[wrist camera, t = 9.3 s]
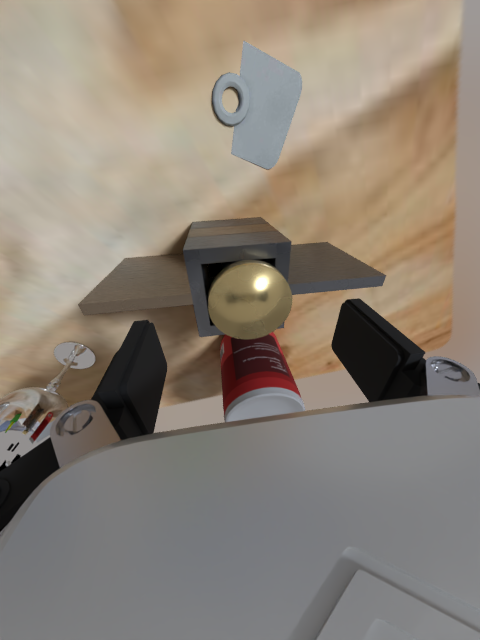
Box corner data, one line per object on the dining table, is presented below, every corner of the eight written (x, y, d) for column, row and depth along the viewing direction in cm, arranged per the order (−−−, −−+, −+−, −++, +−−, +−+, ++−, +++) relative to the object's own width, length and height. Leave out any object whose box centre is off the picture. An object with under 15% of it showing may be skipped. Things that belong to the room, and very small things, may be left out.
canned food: (240, 372, 32) (252, 451, 23) (207, 339, 28) (205, 419, 18) (285, 347, 30) (319, 422, 21) (257, 308, 26) (284, 380, 17)
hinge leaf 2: (202, 285, 23) (199, 337, 16) (192, 221, 20) (182, 250, 12) (321, 274, 24) (370, 318, 17) (332, 212, 21) (401, 232, 13)
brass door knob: (206, 228, 20) (202, 269, 12) (261, 224, 20) (296, 262, 12) (212, 279, 23) (213, 343, 14) (260, 275, 23) (288, 335, 15)
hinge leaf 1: (261, 217, 20) (291, 241, 13) (260, 280, 24) (283, 327, 16) (114, 227, 19) (54, 260, 12) (136, 291, 23) (101, 347, 15)
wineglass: (99, 375, 29) (42, 480, 19) (48, 367, 27) (-44, 477, 17) (103, 343, 26) (38, 447, 16) (46, 332, 24) (-66, 440, 14)
